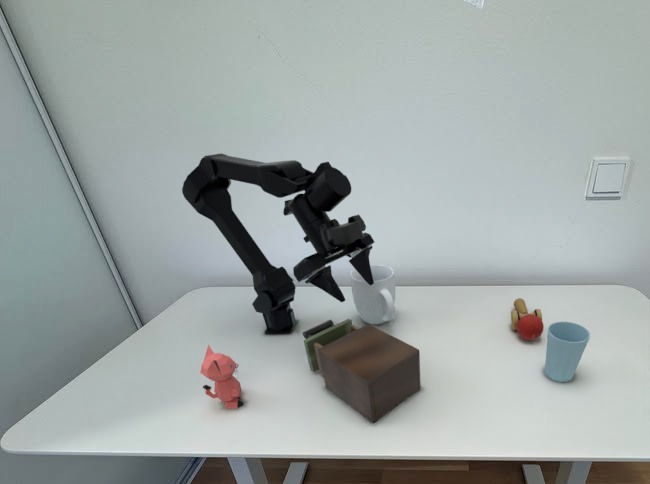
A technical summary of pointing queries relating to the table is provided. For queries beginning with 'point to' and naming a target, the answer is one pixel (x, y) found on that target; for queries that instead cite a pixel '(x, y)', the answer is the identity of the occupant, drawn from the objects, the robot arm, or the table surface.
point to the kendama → (526, 321)
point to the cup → (564, 349)
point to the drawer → (324, 339)
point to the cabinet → (371, 370)
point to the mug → (374, 294)
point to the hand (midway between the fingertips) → (358, 292)
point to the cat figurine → (222, 378)
